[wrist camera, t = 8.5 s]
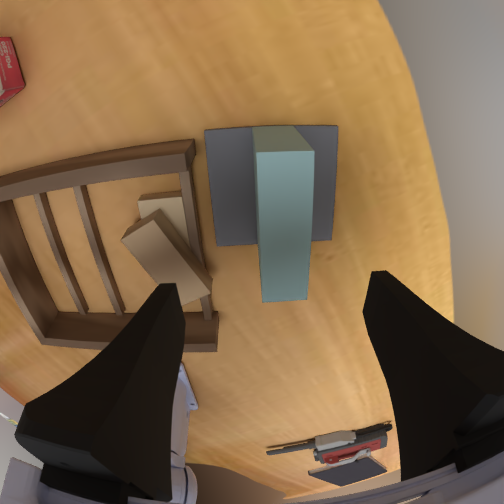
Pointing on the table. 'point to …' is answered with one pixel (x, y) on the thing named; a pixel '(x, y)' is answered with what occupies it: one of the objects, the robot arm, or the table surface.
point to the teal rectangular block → (283, 211)
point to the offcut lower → (167, 210)
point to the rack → (92, 244)
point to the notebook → (350, 471)
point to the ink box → (9, 71)
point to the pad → (243, 181)
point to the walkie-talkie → (343, 445)
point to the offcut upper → (167, 256)
